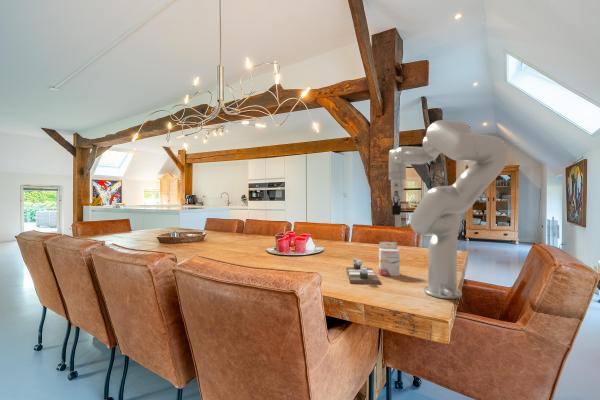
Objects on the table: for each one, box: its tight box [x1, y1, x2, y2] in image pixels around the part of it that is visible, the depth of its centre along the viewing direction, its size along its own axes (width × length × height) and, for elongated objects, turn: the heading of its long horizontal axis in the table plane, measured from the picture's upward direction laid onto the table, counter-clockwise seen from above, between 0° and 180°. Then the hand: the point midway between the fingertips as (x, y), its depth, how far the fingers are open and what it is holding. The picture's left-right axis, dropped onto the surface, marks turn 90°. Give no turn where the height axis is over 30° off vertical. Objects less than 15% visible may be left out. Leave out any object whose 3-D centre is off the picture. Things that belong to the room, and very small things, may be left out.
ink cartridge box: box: [378, 241, 401, 277], centre depth 134 cm, size 9×5×15 cm, turn 84°
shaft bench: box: [345, 257, 380, 285], centre depth 131 cm, size 21×12×6 cm, turn 175°
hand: (396, 213), depth 134 cm, fingers open, 9 cm apart
